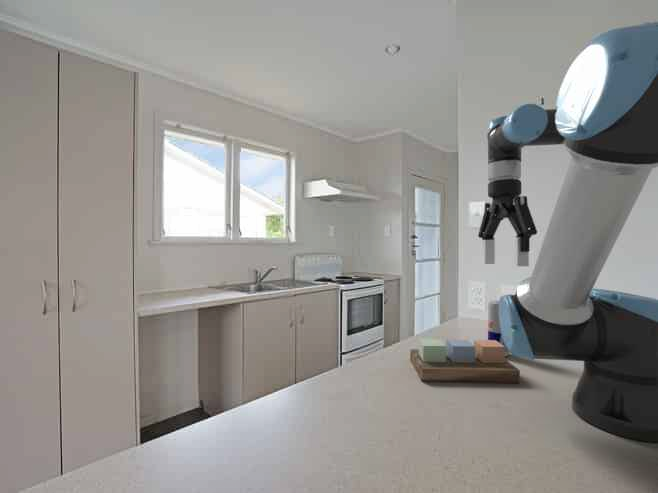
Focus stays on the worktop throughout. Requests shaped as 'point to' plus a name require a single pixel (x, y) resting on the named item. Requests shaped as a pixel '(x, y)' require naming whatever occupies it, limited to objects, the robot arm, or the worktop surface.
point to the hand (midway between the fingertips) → (504, 265)
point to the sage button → (432, 350)
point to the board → (464, 371)
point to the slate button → (460, 351)
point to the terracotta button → (489, 351)
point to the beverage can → (495, 324)
